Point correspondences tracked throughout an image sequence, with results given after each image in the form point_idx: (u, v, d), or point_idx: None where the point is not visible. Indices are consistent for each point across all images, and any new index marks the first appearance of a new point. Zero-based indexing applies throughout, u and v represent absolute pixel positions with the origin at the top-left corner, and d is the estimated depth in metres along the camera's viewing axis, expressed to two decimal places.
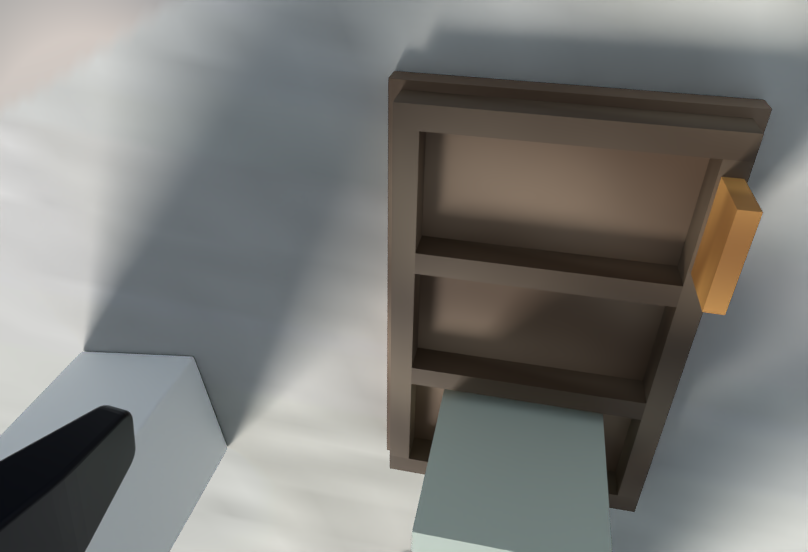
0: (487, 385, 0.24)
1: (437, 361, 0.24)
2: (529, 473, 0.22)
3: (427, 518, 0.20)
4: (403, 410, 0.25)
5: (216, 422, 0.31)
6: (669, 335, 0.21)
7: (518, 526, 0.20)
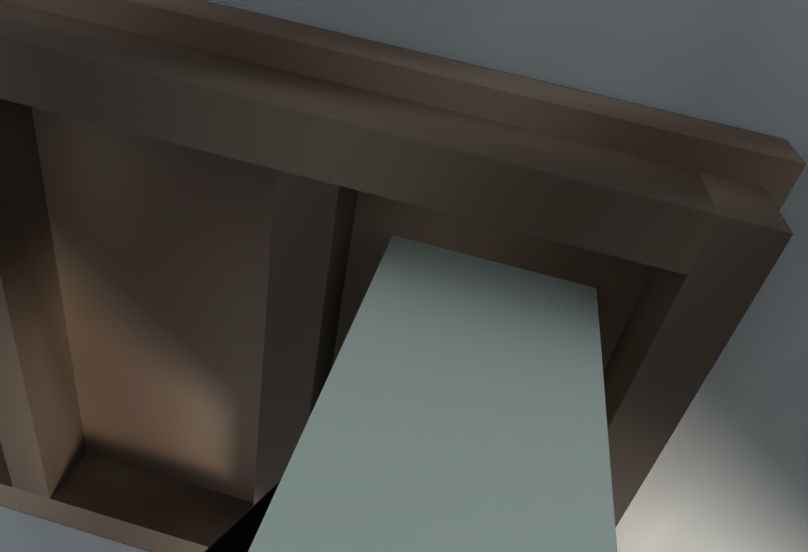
0: (271, 470, 0.11)
1: None
2: None
3: None
4: None
5: None
6: (40, 105, 0.08)
7: None
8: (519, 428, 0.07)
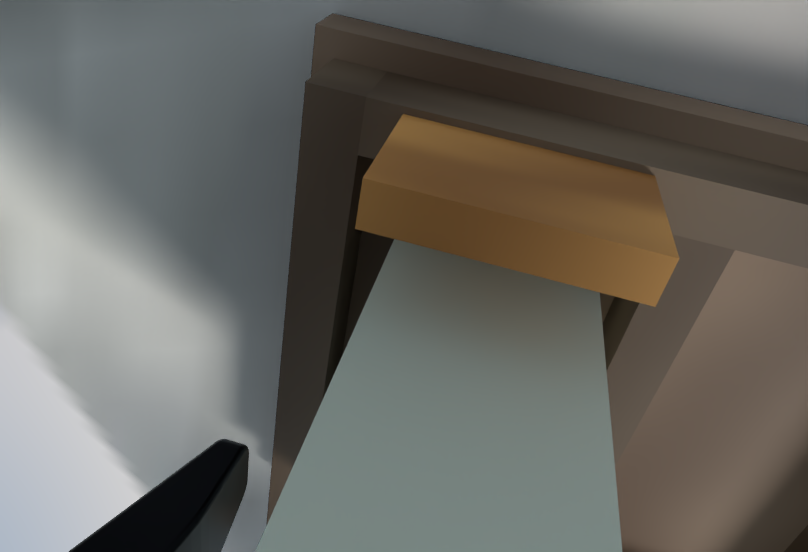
0: None
1: None
2: None
3: None
4: None
5: None
6: None
7: None
8: (528, 368, 0.07)
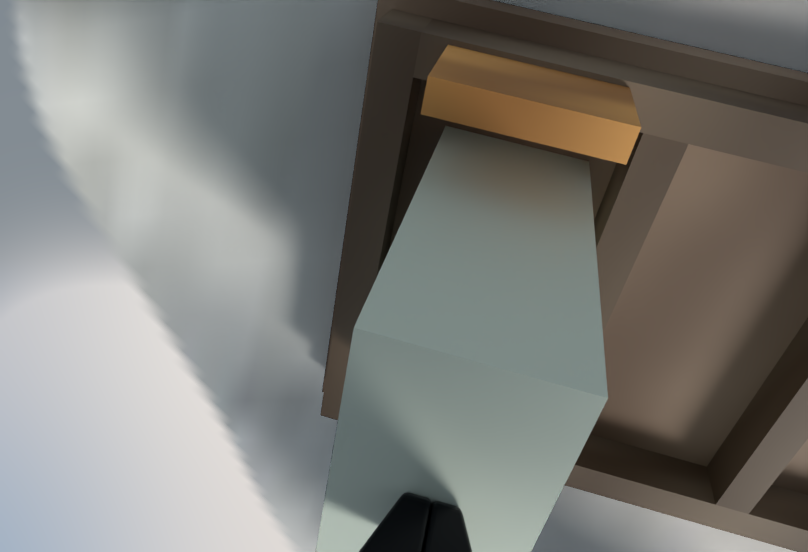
0: (786, 429, 0.14)
1: (727, 463, 0.16)
2: None
3: None
4: (803, 537, 0.16)
5: None
6: (754, 156, 0.11)
7: None
8: (538, 219, 0.11)
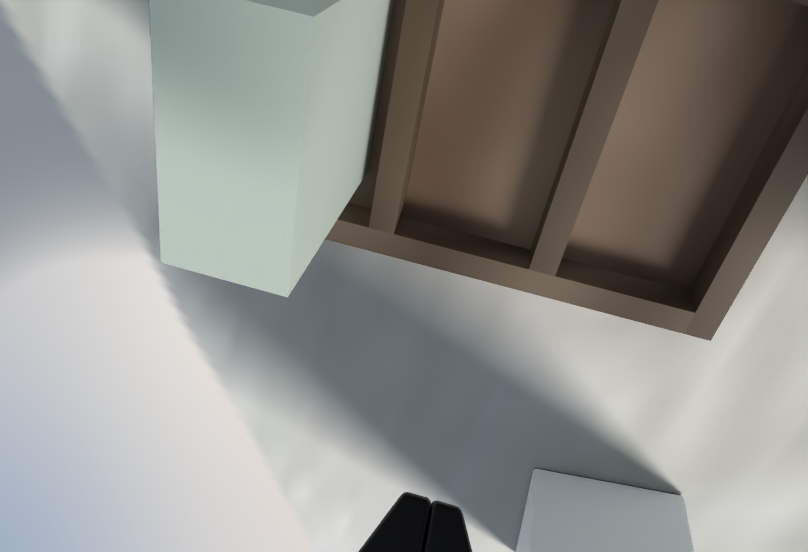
0: (568, 187, 0.18)
1: (538, 235, 0.19)
2: None
3: None
4: (599, 296, 0.19)
5: (634, 489, 0.26)
6: None
7: None
8: None
